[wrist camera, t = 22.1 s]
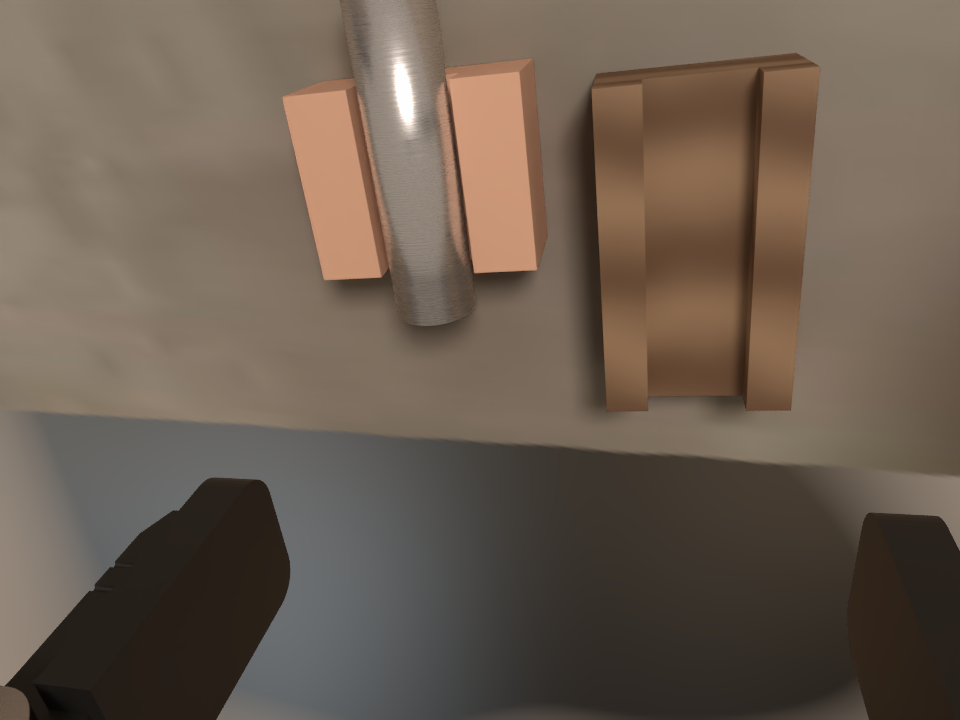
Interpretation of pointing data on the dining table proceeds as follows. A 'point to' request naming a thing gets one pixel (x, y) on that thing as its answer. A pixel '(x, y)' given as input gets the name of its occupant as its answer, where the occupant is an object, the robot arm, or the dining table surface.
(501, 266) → the terracotta cradle
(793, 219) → the wooden channel bracket
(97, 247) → the dining table surface
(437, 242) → the steel axle
